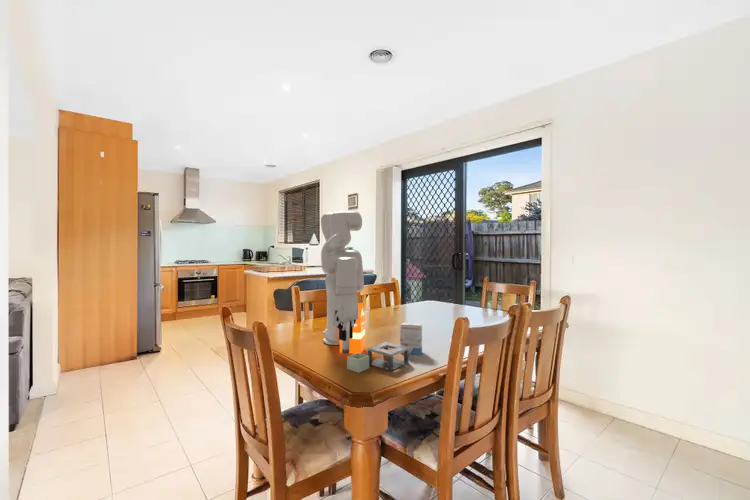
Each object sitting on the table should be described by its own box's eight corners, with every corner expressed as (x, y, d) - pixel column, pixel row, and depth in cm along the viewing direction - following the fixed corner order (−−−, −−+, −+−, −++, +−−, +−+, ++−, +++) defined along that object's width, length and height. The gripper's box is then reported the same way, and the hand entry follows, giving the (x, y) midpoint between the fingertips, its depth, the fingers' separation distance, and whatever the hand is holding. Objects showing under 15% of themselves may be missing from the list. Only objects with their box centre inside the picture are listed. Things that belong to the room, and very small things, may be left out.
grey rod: (340, 352, 133) (340, 310, 132) (345, 350, 135) (346, 309, 134) (345, 354, 131) (346, 311, 130) (350, 352, 133) (351, 310, 132)
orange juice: (360, 354, 143) (360, 304, 142) (339, 352, 145) (339, 303, 144) (364, 348, 151) (365, 301, 150) (344, 347, 152) (345, 300, 152)
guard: (367, 364, 131) (367, 348, 131) (385, 356, 140) (385, 341, 140) (390, 371, 124) (391, 354, 124) (408, 363, 133) (408, 347, 133)
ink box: (422, 351, 147) (422, 323, 147) (420, 355, 142) (420, 325, 142) (402, 349, 149) (402, 321, 149) (399, 353, 144) (400, 324, 144)
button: (381, 359, 132) (381, 351, 132) (387, 357, 134) (387, 349, 134) (388, 361, 129) (389, 353, 129) (394, 359, 132) (394, 351, 132)
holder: (347, 368, 126) (347, 356, 126) (357, 364, 131) (357, 352, 131) (358, 372, 123) (358, 359, 123) (369, 368, 127) (369, 355, 127)
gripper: (353, 286, 140) (353, 332, 141) (323, 292, 128) (322, 342, 129) (368, 288, 135) (367, 336, 137) (337, 294, 123) (337, 346, 124)
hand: (345, 338), depth 133 cm, fingers closed on grey rod, 2 cm apart
